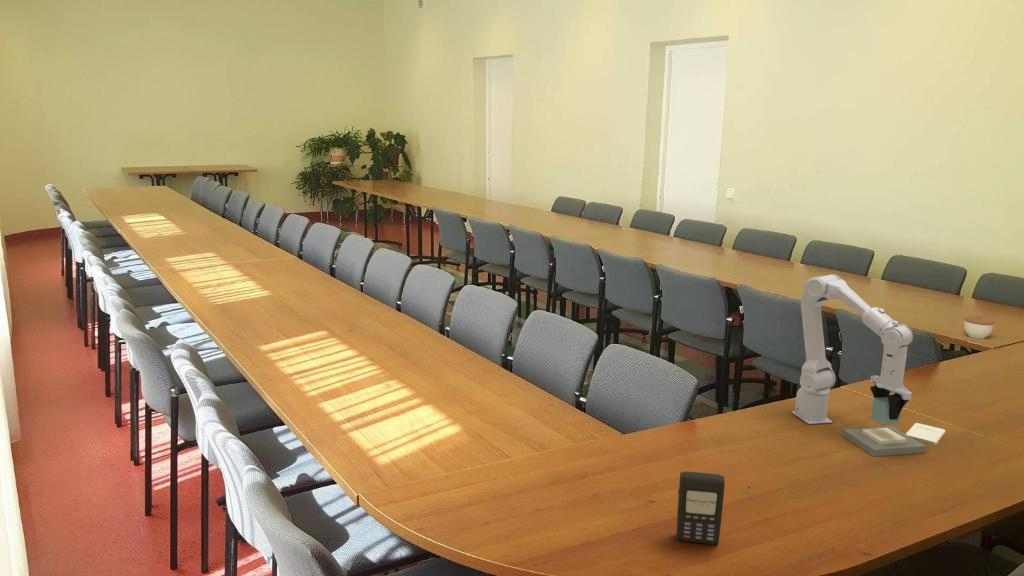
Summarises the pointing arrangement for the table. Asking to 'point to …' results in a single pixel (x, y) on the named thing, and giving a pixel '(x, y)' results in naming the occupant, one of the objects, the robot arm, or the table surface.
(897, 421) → the block
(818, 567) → the table surface
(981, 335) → the lidded jar
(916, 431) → the external hard drive
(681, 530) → the card reader
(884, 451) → the base board
